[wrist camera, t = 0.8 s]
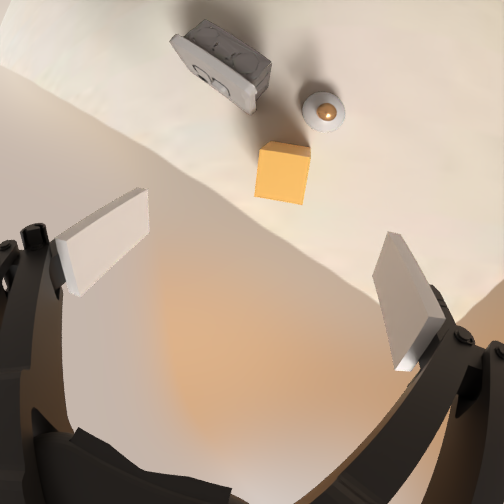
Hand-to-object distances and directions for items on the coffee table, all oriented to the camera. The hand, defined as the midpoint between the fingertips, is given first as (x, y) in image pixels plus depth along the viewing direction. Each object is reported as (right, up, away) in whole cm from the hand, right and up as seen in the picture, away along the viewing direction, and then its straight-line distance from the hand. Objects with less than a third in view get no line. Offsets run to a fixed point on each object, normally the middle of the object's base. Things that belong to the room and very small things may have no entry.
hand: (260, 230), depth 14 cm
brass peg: (+7, +13, +11) cm, 18 cm away
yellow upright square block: (+4, +9, +16) cm, 18 cm away
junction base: (+7, +14, +12) cm, 19 cm away
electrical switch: (-2, +18, +12) cm, 22 cm away
